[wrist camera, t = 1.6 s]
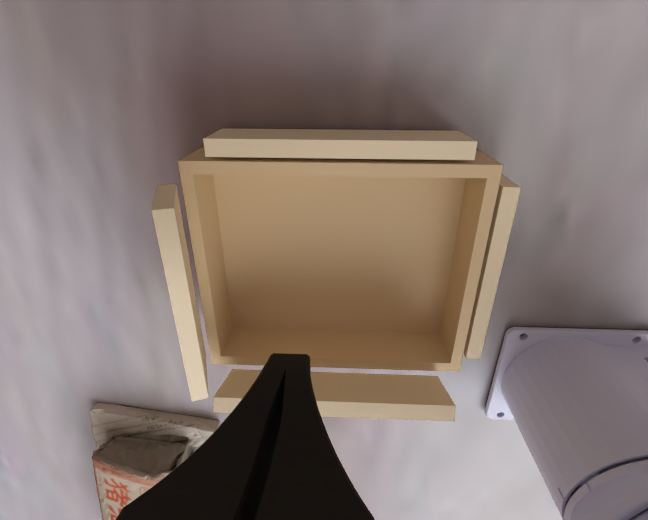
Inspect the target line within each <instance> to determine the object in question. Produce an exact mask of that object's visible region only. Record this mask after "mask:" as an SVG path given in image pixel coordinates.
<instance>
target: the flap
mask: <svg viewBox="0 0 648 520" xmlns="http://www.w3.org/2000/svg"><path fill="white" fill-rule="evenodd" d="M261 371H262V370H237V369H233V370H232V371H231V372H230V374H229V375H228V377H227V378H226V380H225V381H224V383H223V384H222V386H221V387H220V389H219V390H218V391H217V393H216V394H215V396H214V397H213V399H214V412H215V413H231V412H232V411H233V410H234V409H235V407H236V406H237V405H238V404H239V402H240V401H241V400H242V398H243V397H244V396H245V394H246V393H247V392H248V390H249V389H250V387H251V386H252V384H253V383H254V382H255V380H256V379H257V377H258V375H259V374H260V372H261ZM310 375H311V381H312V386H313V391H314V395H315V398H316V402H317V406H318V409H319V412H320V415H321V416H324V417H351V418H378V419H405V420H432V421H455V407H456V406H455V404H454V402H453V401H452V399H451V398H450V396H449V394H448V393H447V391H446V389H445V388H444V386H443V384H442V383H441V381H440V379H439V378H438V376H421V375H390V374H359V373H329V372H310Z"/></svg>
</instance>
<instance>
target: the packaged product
mask: <svg viewBox="0 0 648 520" xmlns="http://www.w3.org/2000/svg"><path fill="white" fill-rule="evenodd" d="M89 412H90V414H91V418H92V430H93V435H94V439H95V441H96V446H97V450H95V451H93V456H92V459H93V466H94V474H95V479H96V484H97V492H98V497H99V501H100V508H101V513H102V519H103V520H116V518H117V517H118V515H119V513H120V512H121V510H122V509H123V507H125V506H126V505H128V504H129V503H131V502H132V501H134V500H135V499H136V498H138V497H139V496H140V495H142V494H143V493H145V492H146V491H147V490H149V489H150V488H152V487H153V486H154V485H156V484H157V483H158V482H160V481H161V480H162V479H163V478H165V477H166V476H167V475H168V474H169V473H171V472H172V471H173V470H174V469H175V468H177V467H178V466H179V465H180V464H181V463H183V462H184V461H185V460H186V459H187V458H188V457H189V456H190V455H192V454H193V453H194V452H195V451H196V450H197V449H198V448H199V447H200V446H201V445H202V444H203V443H204V442H205V441H206V440H207V439H208V438H209V437H210V436H211V435H212V434H213V433H214V432H215V431H216V430H217V429H218V428H219V426H220V421H217V420H213V419H206V418H200V417H193V416H187V415H180V414H173V413H167V412H161V411H156V410H148V409H141V408H133V407H126V406H121V405H116V404H104V403H96V404H95V405H94V406H93V407H92V408H91V409H90V410H89Z"/></svg>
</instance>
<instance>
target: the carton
mask: <svg viewBox="0 0 648 520" xmlns="http://www.w3.org/2000/svg"><path fill="white" fill-rule="evenodd" d="M203 142H204V147H201V148H199V149H197V150H196V151H194V152H192V153H191V154H189V155H187V156H185V157H184V158H182V159H180V160H179V161H178V165H179V171H180V177H181V183H182V189H183V195H184V201H185V207H186V212H187V218H188V224H189V230H190V236H191V242H192V248H193V254H194V260H195V266H196V272H197V278H198V284H199V290H200V296H201V302H202V308H203V314H204V320H205V326H206V332H207V338H208V344H209V350H210V356H211V362H212V364H237V365H265V364H266V362H267V361H268V359H269V357H270V355H272V354H273V353H284V354H307V355H309V356H310V367H330V368H361V369H392V370H423V371H455V372H460V367H461V362H462V358H463V353H464V355H465V358H468V359H480V357H481V353H482V349H483V345H484V341H485V336H486V332H487V328H488V324H489V320H490V316H491V311H492V307H493V303H494V299H495V295H496V291H497V286H498V282H499V278H500V274H501V270H502V266H503V261H504V257H505V253H506V249H507V245H508V240H509V236H510V232H511V228H512V224H513V220H514V215H515V211H516V207H517V203H518V199H519V195H520V190H521V187H520V186H518V185H517V184H515V183H514V182H512V181H511V180H510V179H508V178H507V177H505V176H504V175H502V170H503V164H501V163H499V162H498V161H496V160H495V159H493V158H491V157H490V156H488V155H487V154H485V153H483V152H482V151H480V150H476V149H477V143H478V141H476V140H474V139H473V138H471V137H469V136H467V135H466V134H464V133H462V132H460V131H435V130H329V129H223V128H222V129H220V130H218V131H216V132H214V133H213V134H211V135H209V136H207V137H205V138H203Z"/></svg>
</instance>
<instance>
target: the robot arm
mask: <svg viewBox="0 0 648 520" xmlns="http://www.w3.org/2000/svg"><path fill="white" fill-rule="evenodd" d="M524 333H525V334H524ZM521 334H524V335H523V336H520V335H521ZM635 337H636V338H635ZM633 338H634V339H633ZM499 412H500V413H499ZM485 414H486V416H487V417H488V418H489V419H505V420H515V421H516V423H517V425H518V427H519V430H520V432H521V434H522V436H523V438H524V440H525V442H526V444H527V446H528V448H529V450H530V452H531V454H532V456H533V458H534V460H535V463H536V465H537V467H538V469H539V471H540V473H541V475H542V477H543V479H544V481H545V483H546V485H547V487H548V489H549V491H550V494H551V496H552V498H553V500H554V502H555V504H556V506H557V508H558V510H559V512H560V514H561V516H562V518H563V520H648V331H644V330H608V329H572V328H536V327H512V328H509V329H508V330H507V331H506V333H505V337H504V341H503V344H502V348H501V352H500V356H499V359H498V363H497V367H496V371H495V374H494V378H493V382H492V386H491V389H490V393H489V397H488V400H487V404H486V408H485ZM116 520H374V517H373V516H372V514H371V513H370V511H369V510H368V508H367V507H366V505H365V504H364V502H363V501H362V499H361V498H360V496H359V495H358V493H357V491H356V489H355V488H354V486H353V484H352V483H351V481H350V479H349V477H348V476H347V474H346V472H345V470H344V468H343V466H342V464H341V462H340V460H339V459H338V457H337V454H336V452H335V450H334V448H333V446H332V444H331V441H330V439H329V436H328V434H327V432H326V429H325V426H324V424H323V421H322V418H321V415H320V412H319V409H318V406H317V402H316V398H315V395H314V391H313V386H312V381H311V375H310V356H309V355H307V354H284V353H273V354H272V355H270V357H269V359H268V361H267V362H266V364H265V366H264V368H263V369H262V371H261V372H260V374H259V375H258V377H257V379H256V380H255V382H254V383H253V384H252V386H251V387H250V389H249V390H248V392H247V393H246V394H245V396H244V397H243V398H242V400H241V401H240V402H239V404H238V405H237V406H236V407H235V409H234V410H233V411H232V412H231V414H230V415H229V416H228V417H227V418H226V420H225V421H224V422H223V423H222V424H221V425H220V426H219V428H218V429H217V430H216V431H215V432H214V433H213V434H212V435H211V436H210V437H209V438H208V439H207V440H206V441H205V442H204V443H203V444H202V445H201V446H200V447H199V448H198V449H197V450H196V451H195V452H194V453H193V454H192V455H190V456H189V457H188V458H187V459H186V460H185V461H184V462H183V463H181V464H180V465H179V466H178V467H177V468H175V469H174V470H173V471H172V472H171V473H169V474H168V475H167V476H166V477H165V478H163V479H162V480H161V481H160V482H158V483H157V484H156V485H154V486H153V487H152V488H150V489H149V490H147V491H146V492H145V493H143V494H142V495H140V496H139V497H138V498H136V499H135V500H134V501H132V502H131V503H129V504H128V505H126V506H125V507H123V509H122V510H121V512H120V513H119V515H118V517H117V518H116Z"/></svg>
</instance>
